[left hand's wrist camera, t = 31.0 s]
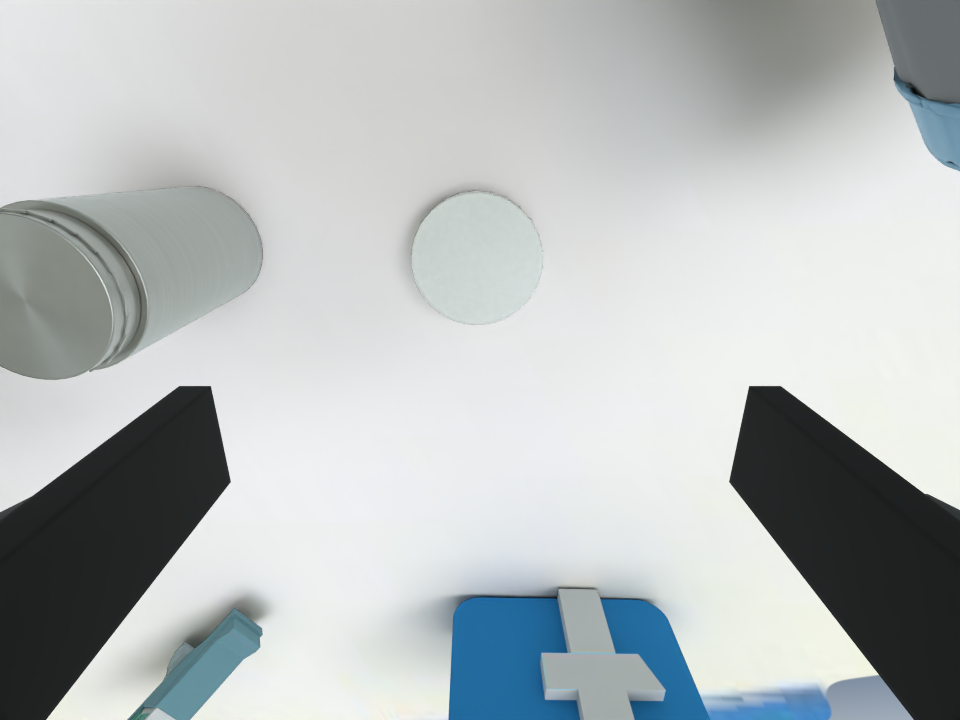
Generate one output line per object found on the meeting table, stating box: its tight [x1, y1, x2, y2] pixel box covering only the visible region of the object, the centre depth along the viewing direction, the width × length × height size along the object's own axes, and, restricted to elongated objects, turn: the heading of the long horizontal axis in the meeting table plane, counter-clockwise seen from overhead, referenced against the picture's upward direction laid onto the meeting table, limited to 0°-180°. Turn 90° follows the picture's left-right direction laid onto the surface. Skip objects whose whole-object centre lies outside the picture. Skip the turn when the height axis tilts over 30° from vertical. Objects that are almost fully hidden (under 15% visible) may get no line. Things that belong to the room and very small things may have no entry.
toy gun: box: [128, 608, 263, 720], centre depth 47 cm, size 4×19×10 cm
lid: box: [411, 190, 543, 325], centre depth 37 cm, size 9×9×2 cm
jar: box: [0, 186, 262, 380], centre depth 30 cm, size 8×8×16 cm
